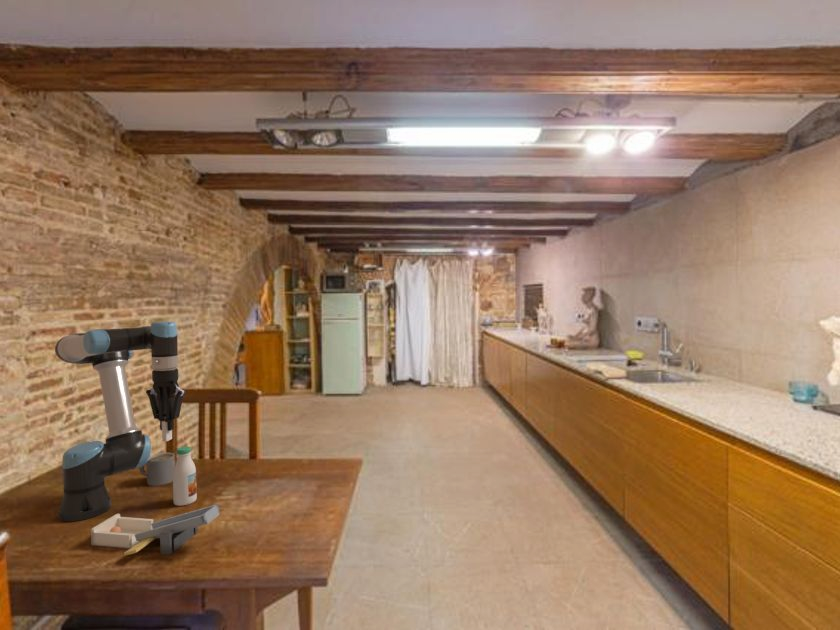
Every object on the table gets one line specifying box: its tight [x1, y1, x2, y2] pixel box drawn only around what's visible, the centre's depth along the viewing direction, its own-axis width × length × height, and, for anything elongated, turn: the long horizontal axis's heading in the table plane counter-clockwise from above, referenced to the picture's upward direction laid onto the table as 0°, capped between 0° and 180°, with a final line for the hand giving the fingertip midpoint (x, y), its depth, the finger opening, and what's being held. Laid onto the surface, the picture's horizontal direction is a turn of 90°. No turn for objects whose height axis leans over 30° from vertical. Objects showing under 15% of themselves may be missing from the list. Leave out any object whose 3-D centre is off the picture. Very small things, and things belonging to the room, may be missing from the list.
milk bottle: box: [172, 446, 198, 507], centre depth 168 cm, size 8×8×20 cm
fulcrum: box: [159, 511, 199, 556], centre depth 140 cm, size 3×13×7 cm, turn 171°
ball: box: [110, 526, 121, 533], centre depth 144 cm, size 3×3×3 cm
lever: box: [123, 503, 221, 557], centre depth 137 cm, size 24×16×3 cm, turn 81°
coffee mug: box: [139, 452, 176, 487], centre depth 188 cm, size 13×10×10 cm
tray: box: [90, 513, 154, 549], centre depth 143 cm, size 13×10×5 cm
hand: (167, 439), depth 150 cm, fingers closed
